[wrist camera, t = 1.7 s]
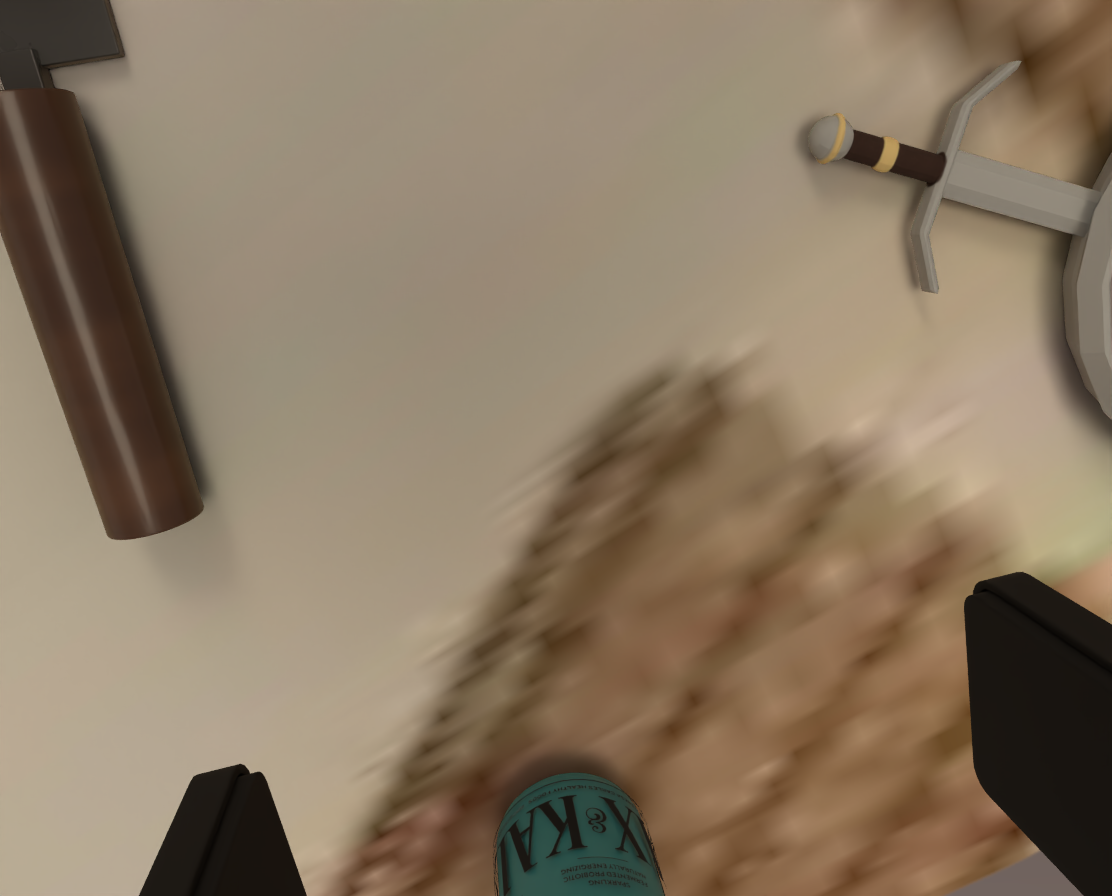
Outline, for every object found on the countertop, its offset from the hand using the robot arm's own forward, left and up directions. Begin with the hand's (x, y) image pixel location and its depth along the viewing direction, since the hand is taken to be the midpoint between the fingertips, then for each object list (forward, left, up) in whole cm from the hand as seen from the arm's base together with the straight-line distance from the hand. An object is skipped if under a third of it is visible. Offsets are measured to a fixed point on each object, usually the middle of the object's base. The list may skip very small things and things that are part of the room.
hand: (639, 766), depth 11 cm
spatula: (-10, -13, -22) cm, 27 cm away
